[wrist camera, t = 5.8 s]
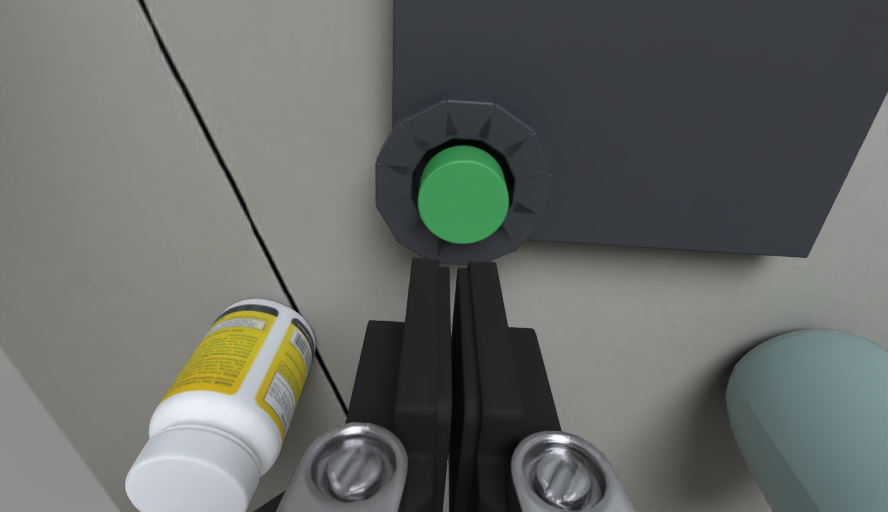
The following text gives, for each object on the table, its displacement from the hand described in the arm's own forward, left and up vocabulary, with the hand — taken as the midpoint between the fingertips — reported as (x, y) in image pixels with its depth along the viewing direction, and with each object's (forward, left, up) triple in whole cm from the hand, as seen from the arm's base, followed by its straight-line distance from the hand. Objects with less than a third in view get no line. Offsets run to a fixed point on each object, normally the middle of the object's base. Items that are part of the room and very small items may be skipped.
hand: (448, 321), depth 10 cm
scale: (+6, +5, -10) cm, 13 cm away
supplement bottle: (-8, -9, -11) cm, 16 cm away
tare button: (0, 0, -7) cm, 7 cm away
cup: (+17, -9, -11) cm, 22 cm away
